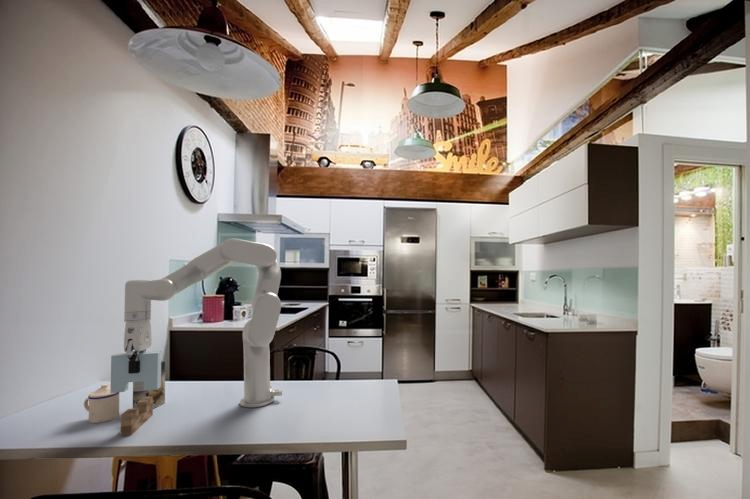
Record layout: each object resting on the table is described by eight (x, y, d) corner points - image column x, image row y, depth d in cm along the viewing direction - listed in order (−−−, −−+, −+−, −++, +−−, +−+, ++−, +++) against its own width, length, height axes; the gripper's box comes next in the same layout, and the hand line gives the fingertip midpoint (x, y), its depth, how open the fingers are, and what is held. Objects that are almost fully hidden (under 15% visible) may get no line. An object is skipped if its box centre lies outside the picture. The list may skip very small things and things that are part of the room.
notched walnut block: (143, 415, 128) (143, 397, 128) (152, 415, 129) (152, 396, 129) (120, 436, 112) (120, 414, 113) (131, 435, 113) (131, 413, 113)
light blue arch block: (160, 386, 124) (161, 351, 124) (157, 389, 121) (157, 353, 121) (115, 390, 121) (116, 353, 122) (110, 392, 118) (111, 355, 119)
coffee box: (146, 412, 131) (146, 367, 132) (131, 411, 133) (132, 367, 134) (165, 403, 140) (165, 361, 141) (151, 402, 142) (151, 360, 142)
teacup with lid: (126, 413, 131) (126, 380, 132) (105, 423, 122) (105, 388, 123) (95, 413, 132) (95, 380, 133) (72, 423, 123) (73, 389, 124)
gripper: (139, 319, 115) (138, 377, 114) (159, 313, 131) (158, 364, 130) (112, 320, 114) (111, 379, 112) (136, 314, 130) (135, 366, 129)
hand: (136, 371), depth 121 cm, fingers closed on light blue arch block, 3 cm apart
